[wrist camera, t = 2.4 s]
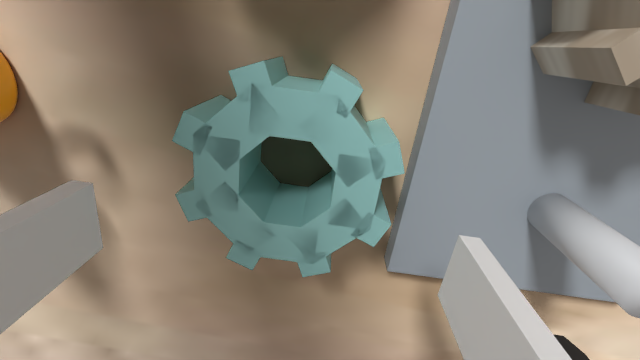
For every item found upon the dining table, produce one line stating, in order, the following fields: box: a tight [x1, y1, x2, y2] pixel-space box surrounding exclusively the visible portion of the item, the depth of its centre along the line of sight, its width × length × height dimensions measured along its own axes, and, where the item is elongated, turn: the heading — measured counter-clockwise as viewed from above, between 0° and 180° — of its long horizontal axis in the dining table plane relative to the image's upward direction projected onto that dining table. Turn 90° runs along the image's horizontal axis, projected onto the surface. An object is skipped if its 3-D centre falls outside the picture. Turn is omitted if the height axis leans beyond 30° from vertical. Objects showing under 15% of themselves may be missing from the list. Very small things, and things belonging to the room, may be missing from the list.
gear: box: [172, 56, 404, 277], centre depth 18 cm, size 11×11×5 cm
